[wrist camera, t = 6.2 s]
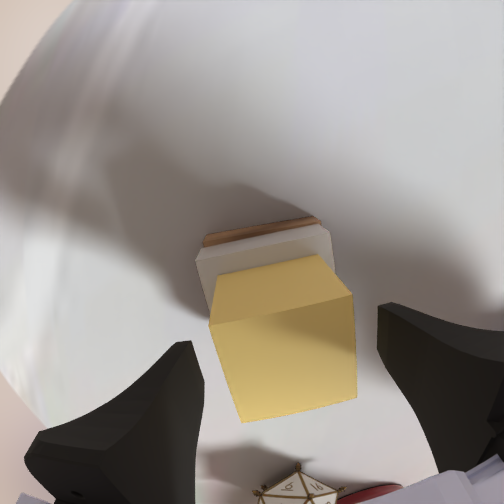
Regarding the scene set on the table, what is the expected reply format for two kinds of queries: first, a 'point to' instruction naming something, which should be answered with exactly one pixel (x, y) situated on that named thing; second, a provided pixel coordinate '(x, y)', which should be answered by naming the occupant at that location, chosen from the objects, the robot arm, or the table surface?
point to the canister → (368, 494)
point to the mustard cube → (285, 338)
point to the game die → (298, 491)
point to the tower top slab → (261, 253)
